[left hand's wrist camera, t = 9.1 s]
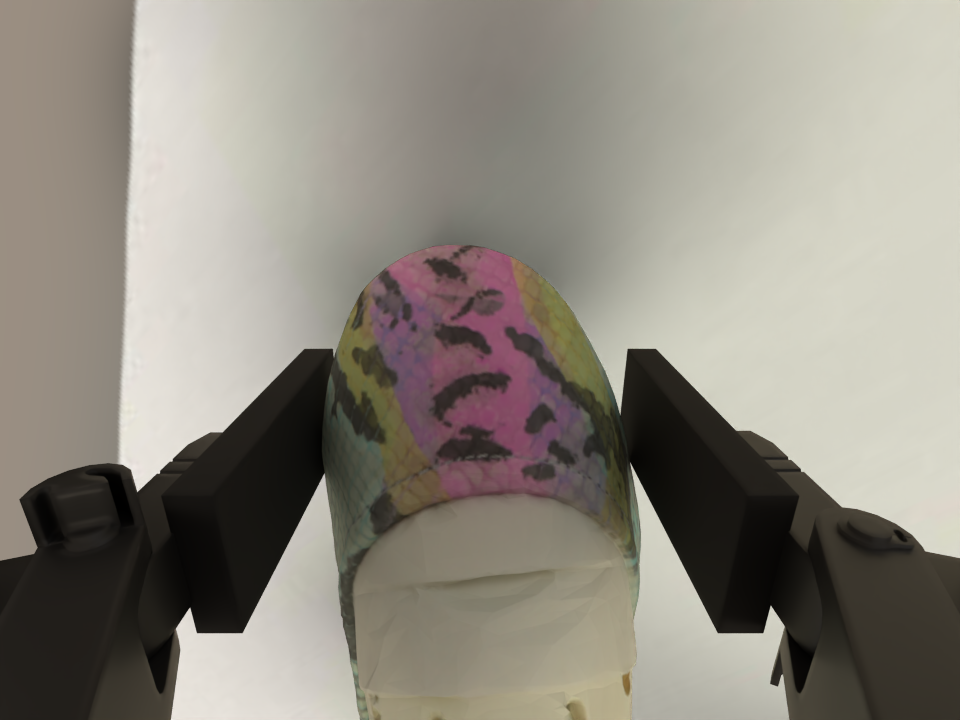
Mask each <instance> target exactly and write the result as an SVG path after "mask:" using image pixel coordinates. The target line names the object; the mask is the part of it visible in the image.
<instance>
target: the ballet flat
mask: <svg viewBox="0 0 960 720" xmlns="http://www.w3.org/2000/svg"><path fill="white" fill-rule="evenodd" d="M322 458H323V465H324V471H325V478H326V486H327V493H328V500H329V506H330V512H331V518H332V529H333V536H334V547H335V555H336V562H337V566H338V571H339V585H338V589H339V599H340V605H341V616H342V618H343V627H344V630H345V635H346V639H347V643H348V647H349V653H350V662H351V667H352V670H353V677H354V683H355V688H356V698H357V707H358V712H359V715H360V720H631V713H632V668H633V667H634V666H635V665H636V657H637V652H636V642H635V633H634V623H633V619H634V615H635V610H636V606H637V601H638V596H639V585H640V572H639V561H640V547H641V531H640V520H639V511H638V504H637V498H636V493H635V487H634V482H633V476H632V471H631V465H630V459H629V453H628V447H627V442H626V437H625V433H624V428H623V423H622V420H621V417H620V413H619V410H618V406H617V403H616V399H615V396H614V393H613V391H612V388H611V385H610V383H609V380H608V377H607V375H606V372H605V370H604V368H603V366H602V364H601V362H600V360H599V359H598V357H597V355H596V353H595V351H594V349H593V347H592V345H591V343H590V341H589V340H588V338H587V336H586V334H585V332H584V331H583V329H582V327H581V325H580V324H579V322H578V320H577V318H576V317H575V315H574V313H573V312H572V310H571V309H570V308H569V306H568V305H567V303H566V302H565V301H564V300H563V299H562V297H561V296H560V295H559V294H558V292H557V291H556V290H555V289H554V288H553V287H552V286H551V285H550V284H549V283H548V282H547V281H546V280H545V279H543V278H542V277H541V276H540V275H539V274H537V273H536V272H535V271H534V270H533V269H531V268H529V267H528V266H526V265H525V264H523V263H521V262H520V261H518V260H516V259H515V258H512V257H510V256H507V255H505V254H502V253H499V252H496V251H493V250H490V249H487V248H484V247H478V246H471V245H469V246H463V245H443V246H434V247H430V248H426V249H423V250H420V251H417V252H414V253H411V254H409V255H407V256H405V257H403V258H401V259H399V260H398V261H396V262H395V263H393V264H392V265H390V266H389V267H387V268H385V269H384V270H383V271H382V272H381V273H380V274H379V275H378V276H377V277H375V278H374V279H373V280H372V281H371V282H370V283H369V284H368V285H367V286H366V287H365V289H364V290H363V291H362V293H361V294H360V296H359V298H358V300H357V302H356V304H355V306H354V308H353V310H352V312H351V314H350V316H349V318H348V320H347V323H346V325H345V328H344V331H343V334H342V337H341V339H340V342H339V345H338V348H337V351H336V353H335V356H334V360H333V365H332V369H331V373H330V377H329V381H328V386H327V393H326V400H325V407H324V417H323V427H322Z"/></svg>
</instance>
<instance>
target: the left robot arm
mask: <svg viewBox="0 0 960 720" xmlns="http://www.w3.org/2000/svg"><path fill="white" fill-rule="evenodd" d="M333 360H334V356H333V349H304V350H303V351H302V352H301V353H300V354H299V355H298V356H297V357H296V358H295V359H294V360H293V361H292V362H291V363H290V364H289V365H288V366H287V367H286V368H285V369H284V370H283V371H282V373H281V374H280V375H279V376H278V377H277V378H276V379H275V380H274V381H273V382H272V383H271V384H270V385H269V386H268V387H267V388H266V389H265V390H264V391H263V392H262V393H261V394H260V395H259V396H258V397H257V398H256V399H255V400H254V401H253V402H252V403H251V404H250V405H249V406H248V407H247V408H246V409H245V410H244V411H243V412H242V413H241V414H240V415H239V416H238V417H237V418H236V419H235V421H234V422H233V423H232V424H231V425H230V426H229V427H228V428H227V429H226V430H225V431H224V432H223V433H209V434H207V435H205V436H203V437H201V438H199V439H198V440H196V441H194V442H192V443H190V444H188V445H187V446H186V447H185V448H184V449H183V450H182V451H181V452H180V453H179V454H178V455H177V456H175V457H174V458H173V462H169V463H168V464H167V465H166V466H165V467H164V468H163V469H162V470H161V471H160V474H156V475H155V476H154V477H153V478H152V479H151V480H150V481H149V482H148V483H147V484H146V485H145V486H144V487H143V488H141V489H140V490H139V491H138V492H137V490H136V486H135V483H134V479H133V476H132V472H131V470H130V469H128V468H127V467H125V466H124V465H119V464H110V463H107V464H97V465H89V466H85V467H81V468H77V469H73V470H69V471H66V472H64V473H61V474H59V475H56V476H54V477H51V478H48V479H47V480H45V481H43V482H41V483H40V484H38V485H36V486H35V487H33V488H31V489H30V490H29V491H28V492H27V493H26V494H25V495H24V496H23V497H21V499H20V503H21V505H22V508H23V510H24V513H25V516H26V518H27V521H28V523H29V526H30V529H31V531H32V534H33V537H34V539H35V542H36V545H37V547H38V548H37V550H36V552H35V553H34V554H32V555H27V556H22V557H17V558H12V559H7V560H2V561H0V720H171V714H172V707H173V699H174V692H175V685H176V678H177V670H178V663H179V656H180V645H179V639H178V635H177V632H176V627H177V626H178V624H179V623H180V621H181V620H182V618H183V617H184V615H185V614H186V612H187V611H188V609H189V608H191V612H192V616H193V619H194V623H195V627H196V631H197V633H243V631H244V629H245V627H246V625H247V623H248V621H249V619H250V617H251V616H252V614H253V612H254V610H255V608H256V606H257V604H258V602H259V600H260V598H261V596H262V594H263V592H264V590H265V588H266V586H267V584H268V582H269V580H270V578H271V576H272V575H273V573H274V571H275V569H276V567H277V565H278V563H279V561H280V559H281V557H282V555H283V553H284V551H285V549H286V547H287V545H288V543H289V541H290V539H291V537H292V536H293V534H294V532H295V530H296V528H297V526H298V524H299V522H300V520H301V518H302V516H303V514H304V512H305V510H306V508H307V506H308V504H309V502H310V500H311V498H312V496H313V495H314V493H315V491H316V489H317V487H318V485H319V483H320V481H321V479H322V477H323V475H324V473H325V471H324V465H323V458H322V427H323V417H324V407H325V400H326V393H327V386H328V381H329V377H330V373H331V369H332V365H333ZM620 417H621V420H622V423H623V428H624V433H625V437H626V442H627V447H628V453H629V459H630V463H631V465H632V466H633V468H634V470H635V472H636V474H637V476H638V478H639V480H640V482H641V484H642V486H643V488H644V490H645V492H646V494H647V496H648V498H649V500H650V502H651V504H652V506H653V507H654V509H655V511H656V513H657V515H658V517H659V519H660V521H661V523H662V525H663V527H664V529H665V531H666V533H667V535H668V537H669V539H670V541H671V543H672V545H673V546H674V548H675V550H676V552H677V554H678V556H679V558H680V560H681V562H682V564H683V566H684V568H685V570H686V572H687V574H688V576H689V578H690V580H691V582H692V584H693V586H694V587H695V589H696V591H697V593H698V595H699V597H700V599H701V601H702V603H703V605H704V607H705V609H706V611H707V613H708V615H709V617H710V619H711V621H712V623H713V625H714V626H715V628H716V630H717V632H718V633H763V632H764V629H765V625H766V621H767V617H768V613H769V610H770V606H772V608H773V609H774V611H775V612H776V614H777V615H778V617H779V618H780V620H781V621H782V623H783V624H784V626H785V628H784V632H783V635H782V639H781V642H780V646H779V650H778V653H777V657H776V660H775V664H774V667H773V671H772V676H771V682H770V684H772V685H775V686H778V684H779V681H780V678H781V675H782V674H783V676H784V683H785V691H786V698H787V705H788V712H789V719H790V720H960V558H955V557H950V556H945V555H940V554H935V553H930V552H925V551H924V549H923V547H922V546H921V545H920V544H919V542H918V541H917V540H916V539H915V538H914V537H913V535H911V534H910V533H908V532H907V531H905V530H904V529H903V528H901V527H900V526H898V525H897V524H895V523H893V522H891V521H888V520H886V519H884V518H882V517H880V516H878V515H875V514H871V513H868V512H864V511H861V510H858V509H851V508H842V507H841V506H840V505H839V504H838V503H837V502H836V501H834V500H833V499H832V498H831V497H830V496H829V495H828V494H827V493H826V492H825V491H824V490H823V489H822V488H821V487H819V486H818V485H817V484H816V483H815V482H814V481H813V480H812V479H811V478H810V477H809V476H808V475H807V474H806V473H804V472H801V469H800V468H799V467H798V466H797V465H796V464H795V463H794V462H793V461H792V460H788V457H787V456H786V455H785V454H784V453H783V452H782V451H781V450H780V449H779V448H778V447H777V446H776V445H774V444H773V443H772V442H770V441H768V440H766V439H765V438H763V437H761V436H759V435H757V434H755V433H753V432H751V431H736V430H735V429H734V428H733V427H732V426H731V425H730V424H729V423H728V422H727V421H726V420H725V419H724V418H723V417H722V416H721V415H720V414H719V413H718V412H717V411H716V410H715V409H714V408H713V407H712V406H711V405H710V404H709V403H708V402H707V401H706V400H705V399H704V398H703V397H702V396H701V395H700V394H699V393H698V391H697V390H696V389H695V388H694V387H693V386H692V385H691V384H690V383H689V382H688V381H687V380H686V379H685V378H684V377H683V376H682V375H681V374H680V373H679V372H678V371H677V370H676V369H675V368H674V367H673V366H672V365H671V364H670V363H669V362H668V361H667V360H666V359H665V358H664V357H663V356H662V355H661V354H660V353H659V352H658V351H657V350H656V349H628V351H627V360H626V369H625V378H624V387H623V397H622V406H621V415H620Z"/></svg>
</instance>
